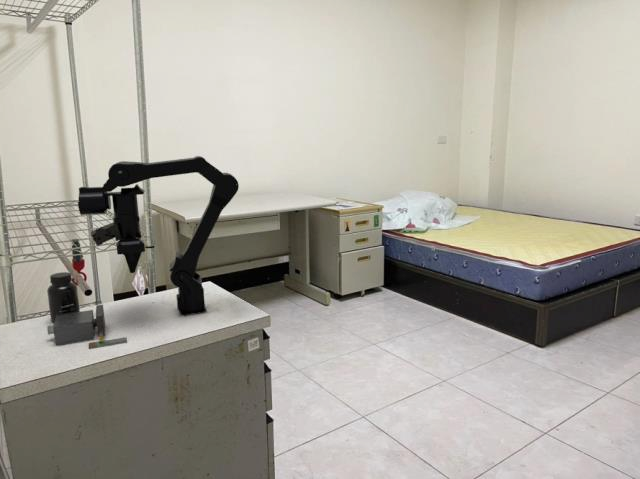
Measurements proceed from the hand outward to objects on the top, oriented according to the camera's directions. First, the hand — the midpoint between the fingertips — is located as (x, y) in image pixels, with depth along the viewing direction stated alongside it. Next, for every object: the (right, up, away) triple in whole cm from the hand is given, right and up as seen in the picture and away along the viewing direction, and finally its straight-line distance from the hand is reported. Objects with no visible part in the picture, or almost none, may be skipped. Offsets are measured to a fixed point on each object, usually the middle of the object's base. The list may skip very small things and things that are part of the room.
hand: (132, 272), depth 123 cm
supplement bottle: (-18, -12, +2) cm, 22 cm away
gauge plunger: (-9, -14, -11) cm, 20 cm away
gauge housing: (-6, -15, -10) cm, 19 cm away
